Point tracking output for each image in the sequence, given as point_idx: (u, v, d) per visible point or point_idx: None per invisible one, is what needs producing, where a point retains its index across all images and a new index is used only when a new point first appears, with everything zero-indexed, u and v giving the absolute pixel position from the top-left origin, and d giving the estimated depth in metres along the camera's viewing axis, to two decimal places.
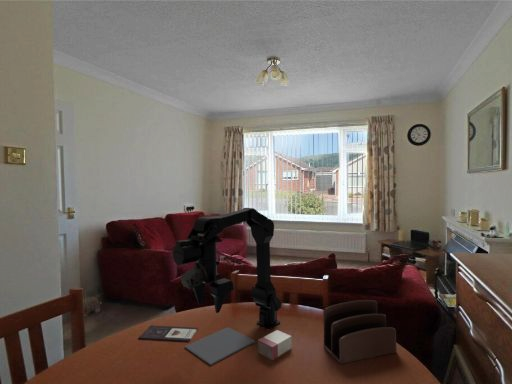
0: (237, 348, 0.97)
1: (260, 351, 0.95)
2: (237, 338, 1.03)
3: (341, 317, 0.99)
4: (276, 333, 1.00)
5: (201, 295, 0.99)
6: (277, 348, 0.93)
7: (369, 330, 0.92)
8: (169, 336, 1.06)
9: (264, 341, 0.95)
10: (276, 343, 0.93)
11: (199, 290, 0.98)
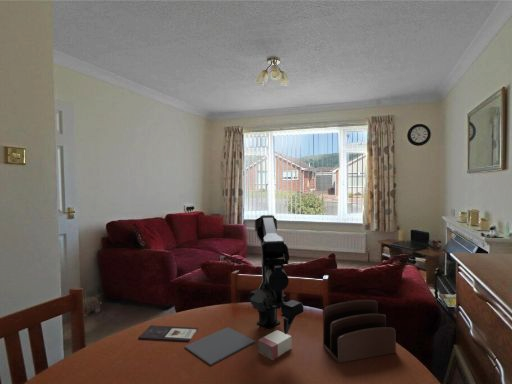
0: (237, 348, 0.97)
1: (260, 351, 0.95)
2: (237, 338, 1.03)
3: (341, 317, 0.99)
4: (276, 333, 1.00)
5: (265, 315, 1.00)
6: (277, 348, 0.93)
7: (368, 330, 0.92)
8: (169, 336, 1.06)
9: (264, 341, 0.95)
10: (276, 343, 0.93)
11: (263, 310, 1.00)
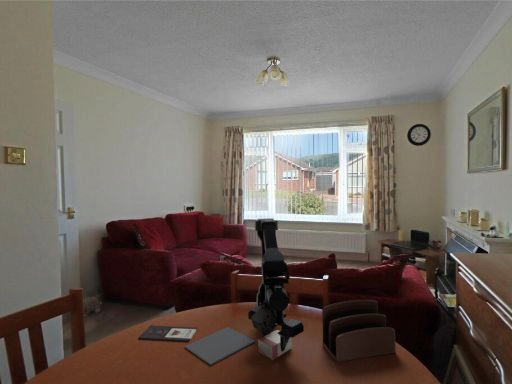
0: (237, 348, 0.97)
1: (260, 351, 0.95)
2: (237, 338, 1.03)
3: (340, 316, 1.00)
4: (276, 333, 1.00)
5: None
6: (277, 348, 0.93)
7: (367, 329, 0.92)
8: (169, 336, 1.06)
9: (264, 341, 0.95)
10: (276, 343, 0.93)
11: (267, 329, 0.99)
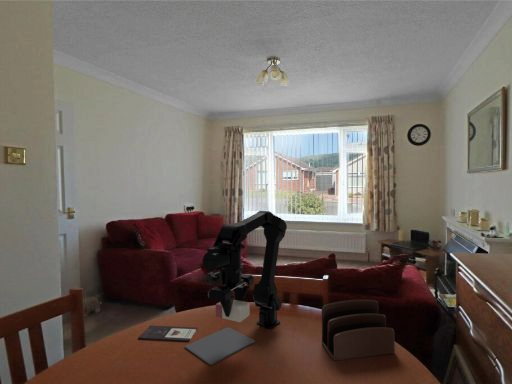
0: (237, 348, 0.97)
1: None
2: (237, 338, 1.03)
3: (340, 315, 1.00)
4: (242, 303, 0.99)
5: None
6: (222, 310, 0.97)
7: (365, 329, 0.92)
8: (169, 336, 1.06)
9: None
10: None
11: (238, 296, 1.02)
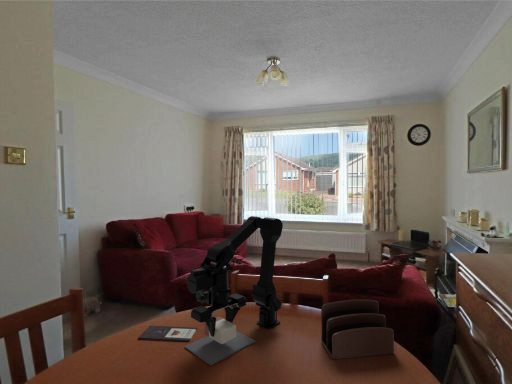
0: (237, 348, 0.97)
1: None
2: (237, 338, 1.03)
3: (339, 315, 1.01)
4: (228, 324, 1.00)
5: None
6: None
7: (364, 329, 0.93)
8: (169, 336, 1.06)
9: None
10: None
11: (228, 316, 1.03)
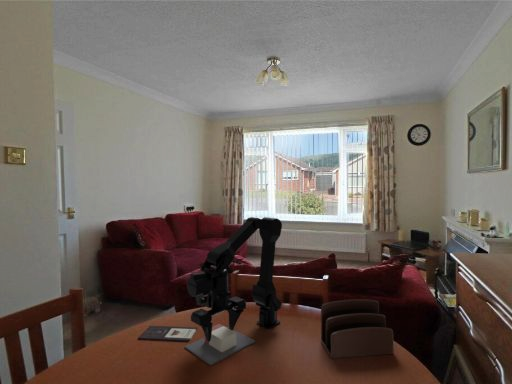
0: (237, 348, 0.97)
1: None
2: (237, 338, 1.03)
3: (339, 314, 1.01)
4: (228, 332, 1.00)
5: (231, 323, 1.03)
6: None
7: (363, 328, 0.93)
8: (169, 336, 1.06)
9: (215, 326, 1.04)
10: None
11: (232, 318, 1.04)
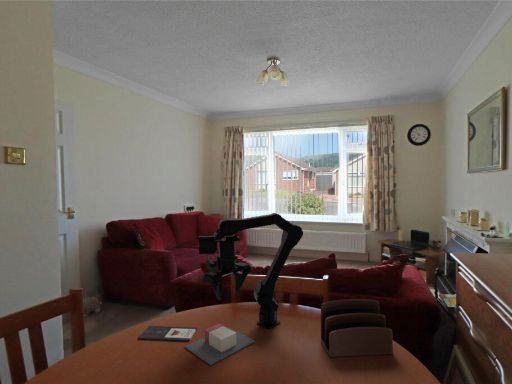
0: (237, 348, 0.97)
1: None
2: (237, 338, 1.03)
3: (339, 314, 1.01)
4: (228, 332, 1.00)
5: (238, 285, 1.15)
6: (209, 336, 1.00)
7: (362, 328, 0.93)
8: (169, 336, 1.06)
9: (215, 326, 1.04)
10: (210, 331, 1.00)
11: (238, 281, 1.15)
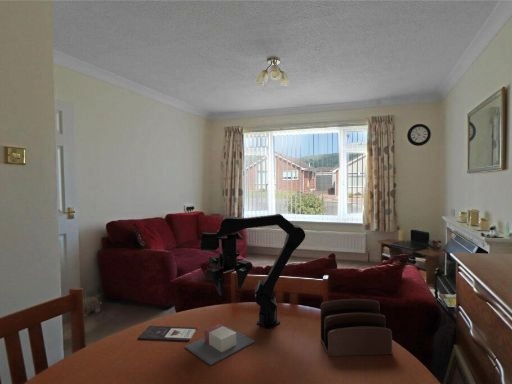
0: (237, 348, 0.97)
1: None
2: (237, 338, 1.03)
3: (339, 313, 1.02)
4: (228, 332, 1.00)
5: (240, 282, 1.18)
6: (209, 336, 1.00)
7: (361, 328, 0.93)
8: (168, 336, 1.06)
9: (215, 326, 1.04)
10: (210, 331, 1.00)
11: (240, 278, 1.18)
